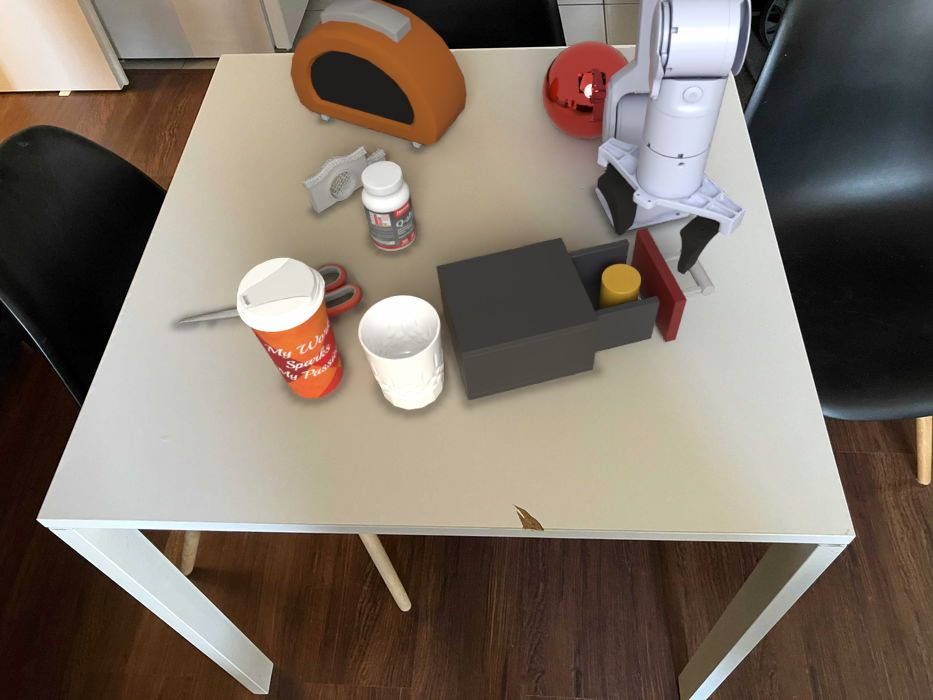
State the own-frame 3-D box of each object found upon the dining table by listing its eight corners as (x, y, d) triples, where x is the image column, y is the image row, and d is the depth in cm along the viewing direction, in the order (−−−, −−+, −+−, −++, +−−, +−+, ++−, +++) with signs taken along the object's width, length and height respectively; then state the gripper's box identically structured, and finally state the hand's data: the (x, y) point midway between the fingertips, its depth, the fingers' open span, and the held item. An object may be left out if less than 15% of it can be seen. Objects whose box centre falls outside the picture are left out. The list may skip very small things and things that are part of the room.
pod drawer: (676, 260, 83) (686, 218, 77) (715, 330, 77) (730, 289, 71) (534, 294, 81) (534, 253, 76) (563, 367, 75) (565, 329, 70)
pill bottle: (410, 255, 87) (398, 194, 79) (366, 250, 88) (350, 189, 80) (422, 221, 91) (411, 159, 83) (378, 217, 92) (364, 155, 84)
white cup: (422, 427, 74) (409, 373, 65) (361, 394, 76) (341, 339, 68) (463, 371, 77) (455, 313, 69) (403, 342, 80) (389, 283, 72)
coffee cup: (292, 420, 75) (247, 335, 63) (268, 363, 80) (221, 274, 67) (366, 386, 77) (335, 297, 65) (338, 333, 81) (304, 240, 69)
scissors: (178, 320, 84) (173, 312, 83) (349, 262, 87) (346, 254, 86) (188, 370, 80) (183, 362, 79) (367, 307, 83) (365, 299, 82)
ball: (547, 99, 103) (549, 19, 93) (632, 104, 101) (643, 24, 91) (535, 154, 96) (535, 74, 87) (625, 161, 94) (636, 80, 85)
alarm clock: (300, 116, 105) (266, 6, 91) (334, 82, 109) (307, -29, 95) (439, 159, 97) (425, 45, 84) (470, 119, 102) (461, 6, 88)
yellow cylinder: (592, 298, 79) (596, 268, 75) (627, 290, 79) (632, 259, 75) (605, 326, 77) (609, 296, 73) (641, 317, 77) (647, 287, 73)
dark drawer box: (559, 289, 83) (561, 237, 76) (592, 370, 76) (599, 320, 69) (444, 316, 82) (436, 265, 75) (468, 400, 75) (462, 353, 68)
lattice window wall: (382, 164, 97) (374, 128, 93) (390, 170, 97) (383, 134, 92) (310, 210, 93) (298, 175, 88) (318, 217, 92) (307, 181, 88)
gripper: (579, 123, 62) (572, 234, 73) (723, 201, 56) (691, 309, 67) (631, 85, 65) (616, 197, 76) (774, 155, 58) (735, 267, 69)
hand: (654, 247), depth 72 cm, fingers open, 7 cm apart
